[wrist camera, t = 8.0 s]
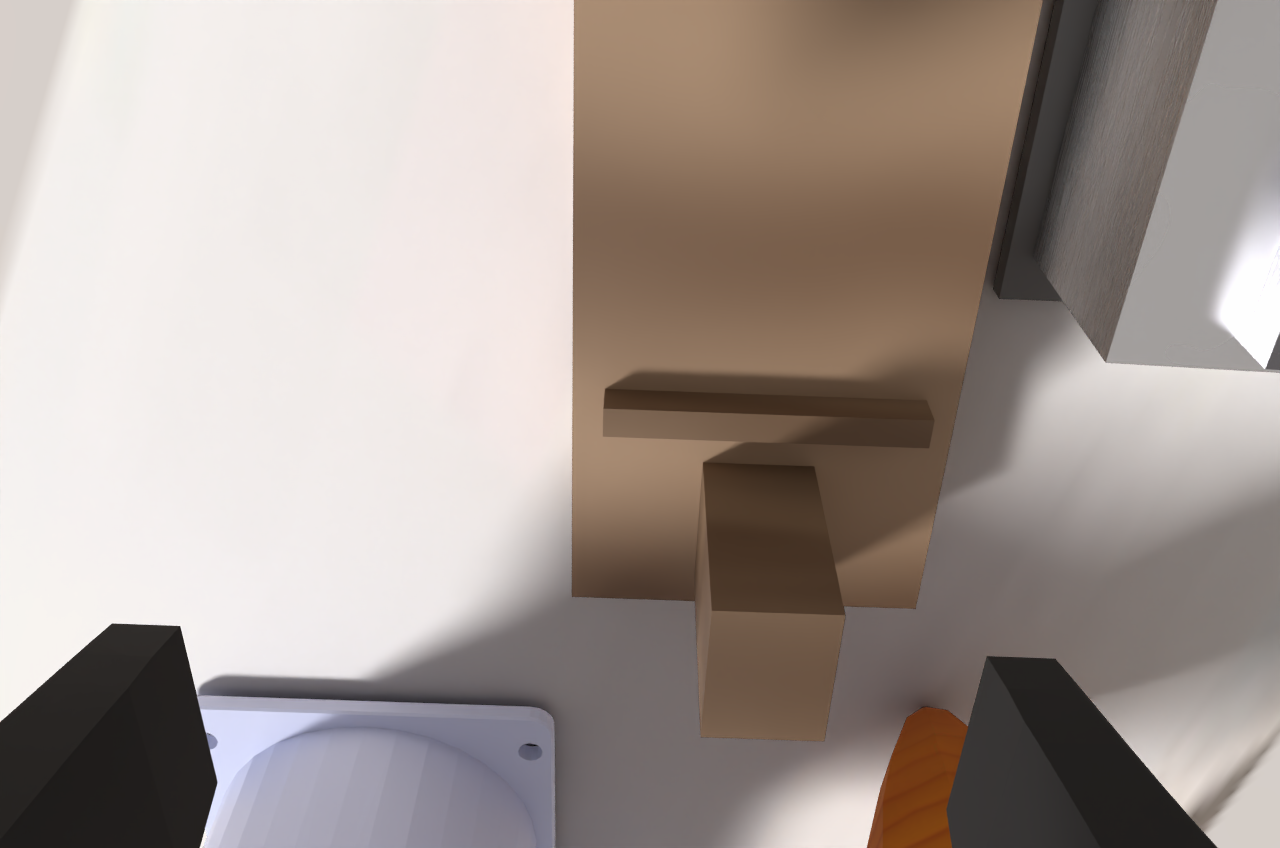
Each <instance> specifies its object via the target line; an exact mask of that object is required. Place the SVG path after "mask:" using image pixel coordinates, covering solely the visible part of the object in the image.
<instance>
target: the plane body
mask: <svg viewBox="0 0 1280 848" xmlns="http://www.w3.org/2000/svg"><path fill="white" fill-rule="evenodd" d="M1042 2H1043V0H574V146H573V413H572V597H594V598H623V599H651V600H680V601H695V615H696V639H697V663H698V687H699V711H700V735H701V737H712V738H741V739H771V740H800V741H824V740H825V734H826V728H827V722H828V716H829V710H830V704H831V699H832V693H833V687H834V681H835V675H836V669H837V663H838V657H839V651H840V645H841V639H842V633H843V627H844V621H845V611H844V606H851V607H880V608H908V609H916V604H917V599H918V595H919V590H920V585H921V580H922V576H923V571H924V566H925V561H926V557H927V552H928V547H929V542H930V537H931V533H932V528H933V523H934V518H935V514H936V509H937V504H938V499H939V494H940V490H941V485H942V480H943V475H944V471H945V466H946V461H947V456H948V451H949V447H950V442H951V437H952V432H953V428H954V423H955V418H956V413H957V408H958V404H959V399H960V394H961V389H962V385H963V380H964V375H965V370H966V365H967V361H968V356H969V351H970V346H971V342H972V337H973V332H974V327H975V322H976V318H977V313H978V308H979V303H980V299H981V294H982V289H983V284H984V279H985V275H986V270H987V265H988V260H989V256H990V251H991V246H992V241H993V236H994V232H995V227H996V222H997V217H998V213H999V208H1000V203H1001V198H1002V194H1003V189H1004V184H1005V179H1006V174H1007V170H1008V165H1009V160H1010V155H1011V151H1012V146H1013V141H1014V136H1015V131H1016V127H1017V122H1018V117H1019V112H1020V108H1021V103H1022V98H1023V93H1024V88H1025V84H1026V79H1027V74H1028V69H1029V65H1030V60H1031V55H1032V50H1033V45H1034V41H1035V36H1036V31H1037V26H1038V22H1039V17H1040V12H1041V7H1042Z"/></svg>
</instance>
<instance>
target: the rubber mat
mask: <svg viewBox="0 0 1280 848" xmlns="http://www.w3.org/2000/svg"><path fill="white" fill-rule="evenodd" d="M1098 1H1099V0H1055V3H1054V8H1053V12H1052V17H1051V22H1050V26H1049V31H1048V36H1047V40H1046V45H1045V50H1044V54H1043V59H1042V64H1041V68H1040V73H1039V78H1038V82H1037V87H1036V92H1035V96H1034V101H1033V105H1032V110H1031V115H1030V119H1029V124H1028V129H1027V133H1026V138H1025V143H1024V147H1023V152H1022V157H1021V161H1020V166H1019V171H1018V175H1017V180H1016V185H1015V189H1014V194H1013V199H1012V203H1011V208H1010V213H1009V217H1008V222H1007V227H1006V231H1005V236H1004V241H1003V245H1002V250H1001V255H1000V259H999V264H998V269H997V273H996V278H995V282H994V287H993V289H994V291H995V293H996V294H997V296H998V298H999V299H1019V300H1046V301H1063V300H1062V299H1061V297H1060V296H1059V295H1058V293H1057V292H1056V290H1055V289H1054V287H1053V286H1052V284H1051V283H1050V282H1049V280H1048V279H1047V277H1046V276H1045V274H1044V273H1043V271H1042V270H1041V269H1040V267H1039V266H1038V264H1037V263H1036V261H1035V260H1034V258H1033V254H1034V250H1035V246H1036V242H1037V238H1038V235H1039V231H1040V227H1041V223H1042V219H1043V215H1044V211H1045V207H1046V203H1047V199H1048V196H1049V192H1050V188H1051V184H1052V180H1053V176H1054V172H1055V168H1056V164H1057V161H1058V157H1059V153H1060V149H1061V145H1062V141H1063V137H1064V133H1065V129H1066V125H1067V122H1068V118H1069V114H1070V110H1071V106H1072V102H1073V98H1074V94H1075V90H1076V86H1077V83H1078V79H1079V75H1080V71H1081V67H1082V63H1083V59H1084V55H1085V51H1086V47H1087V44H1088V40H1089V36H1090V32H1091V28H1092V24H1093V20H1094V16H1095V12H1096V9H1097V5H1098Z"/></svg>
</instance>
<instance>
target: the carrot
mask: <svg viewBox="0 0 1280 848" xmlns="http://www.w3.org/2000/svg"><path fill="white" fill-rule="evenodd" d="M967 729H968V726H967V725H965V724H964V723H963V722H962V721H960V720H959V719H958V718H957V717H955V716H954V715H953V714H952V713H950V712H949V711H948V710H943V709H937V708H931V707H923V708H921V709H919V710H918V711H916V712H915V713H913V714H912V715H910V716H909V717H907V718H906V721H905V723H904V726H903V728H902V731H901V733H900V736H899V738H898V741H897V743H896V746H895V748H894V751H893V753H892V756H891V759H890V762H889V765H888V768H887V771H886V774H885V777H884V780H883V783H882V786H881V788H880V793H879V797H878V801H877V806H876V810H875V814H874V819H873V823H872V828H871V832H870V836H869V841H868V845H867V848H952V844H951V838H950V831H949V825H948V818H947V811H946V808H947V805H948V801H949V797H950V793H951V790H952V786H953V782H954V778H955V775H956V771H957V767H958V763H959V760H960V756H961V752H962V748H963V744H964V741H965V737H966V733H967Z"/></svg>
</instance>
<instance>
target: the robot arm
mask: <svg viewBox="0 0 1280 848" xmlns="http://www.w3.org/2000/svg"><path fill="white" fill-rule="evenodd" d="M206 733H210V734H211V735H207V734H206ZM212 735H213V736H212ZM529 743H531V744H536V745H538V746H534V747H531V746H527V745H525V744H529ZM946 811H947V818H948V825H949V831H950V838H951V844H952V848H1217V847H1216V846H1215V844H1214V843H1213V842H1212V841H1211V840H1210V839H1209V838H1208V837H1207V836H1206V834H1205V833H1204V832H1203V831H1202V830H1201V829H1200V828H1199V827H1198V826H1197V824H1196V823H1195V822H1194V821H1193V820H1192V819H1191V818H1190V817H1189V816H1188V814H1187V813H1186V812H1185V811H1184V810H1183V809H1182V807H1181V806H1180V805H1179V804H1178V803H1177V802H1176V801H1175V799H1174V798H1173V797H1172V796H1171V795H1170V794H1169V793H1168V791H1167V790H1166V789H1165V788H1164V787H1163V786H1162V784H1161V783H1160V782H1159V781H1158V780H1157V779H1156V777H1155V776H1154V775H1153V774H1152V773H1151V772H1150V770H1149V769H1148V768H1147V767H1146V766H1145V764H1144V763H1143V762H1142V761H1141V760H1140V759H1139V757H1138V756H1137V755H1136V754H1135V753H1134V752H1133V750H1132V749H1131V748H1130V747H1129V746H1128V744H1127V743H1126V742H1125V741H1124V740H1123V738H1122V737H1121V736H1120V735H1119V734H1118V733H1117V731H1116V730H1115V729H1114V728H1113V727H1112V725H1111V724H1110V723H1109V722H1108V721H1107V719H1106V718H1105V717H1104V716H1103V715H1102V713H1101V712H1100V711H1099V710H1098V709H1097V707H1096V706H1095V705H1094V704H1093V703H1092V701H1091V700H1090V699H1089V698H1088V697H1087V695H1086V694H1085V693H1084V692H1083V691H1082V690H1081V688H1080V687H1079V686H1078V685H1077V684H1076V682H1075V681H1074V680H1073V679H1072V678H1071V677H1070V675H1069V674H1068V673H1067V672H1066V671H1065V670H1064V668H1063V667H1062V666H1061V665H1060V664H1059V663H1058V662H1057V660H1056V659H1046V658H1019V657H992V656H987V658H986V662H985V665H984V669H983V673H982V677H981V680H980V684H979V688H978V692H977V696H976V699H975V703H974V707H973V711H972V714H971V718H970V722H969V726H968V729H967V733H966V737H965V741H964V744H963V748H962V752H961V756H960V760H959V763H958V767H957V771H956V775H955V778H954V782H953V786H952V790H951V793H950V797H949V801H948V805H947V808H946ZM204 830H206V834H207V839H206V841H205V844H204V846H203V848H555V724H554V720H553V718H552V716H551V715H550V714H549V713H548V712H546V711H544V710H542V709H540V708H536V707H525V706H496V705H467V704H438V703H409V702H380V701H351V700H321V699H292V698H263V697H234V696H205V695H203V696H197V694H196V690H195V686H194V682H193V677H192V673H191V669H190V665H189V661H188V657H187V653H186V648H185V644H184V640H183V636H182V632H181V628H180V626H163V625H136V624H111V625H110V626H109V627H108V628H106V629H105V630H104V631H103V632H102V633H101V634H99V635H98V636H97V637H96V638H95V639H94V640H92V641H91V642H90V643H89V644H88V645H87V646H86V647H84V648H83V649H82V650H81V651H80V652H79V653H78V654H76V655H75V656H74V657H73V658H72V659H71V660H70V661H69V662H67V663H66V664H65V665H64V666H63V667H62V668H61V669H59V670H58V671H57V672H56V673H55V674H54V675H53V676H52V677H50V678H49V679H48V680H47V681H46V682H45V683H44V684H43V685H41V686H40V687H39V688H38V689H37V690H36V691H35V692H34V693H32V694H31V695H30V696H29V697H28V698H27V699H26V700H25V701H23V702H22V703H21V704H20V705H19V706H18V707H17V708H16V709H14V710H13V711H12V712H11V713H10V714H9V715H8V716H7V717H5V718H4V719H3V720H2V721H1V722H0V848H200V845H201V841H202V838H203V834H204Z"/></svg>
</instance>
